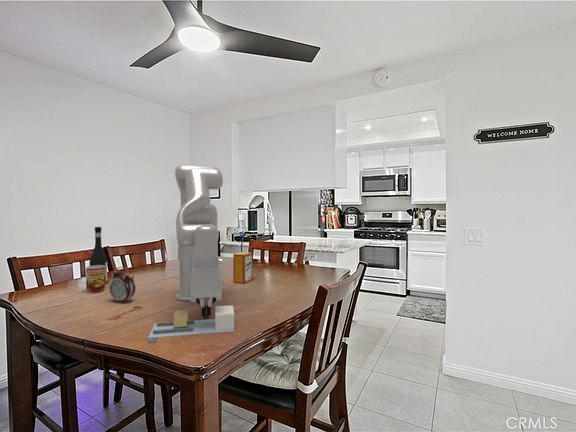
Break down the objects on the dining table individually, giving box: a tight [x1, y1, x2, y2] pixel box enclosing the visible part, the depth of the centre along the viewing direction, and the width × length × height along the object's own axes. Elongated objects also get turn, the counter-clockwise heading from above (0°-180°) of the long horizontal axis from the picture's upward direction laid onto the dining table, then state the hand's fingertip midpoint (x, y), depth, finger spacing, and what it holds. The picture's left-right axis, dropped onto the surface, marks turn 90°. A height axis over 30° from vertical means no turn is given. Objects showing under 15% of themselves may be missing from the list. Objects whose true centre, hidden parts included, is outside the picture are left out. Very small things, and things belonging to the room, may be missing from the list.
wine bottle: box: [89, 226, 108, 284], centre depth 166 cm, size 8×8×30 cm
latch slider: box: [173, 309, 189, 329], centre depth 104 cm, size 5×4×5 cm
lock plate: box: [147, 318, 235, 344], centre depth 105 cm, size 12×26×2 cm, turn 103°
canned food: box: [85, 265, 106, 295], centre depth 152 cm, size 8×8×12 cm
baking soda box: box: [232, 251, 254, 285], centre depth 174 cm, size 10×6×16 cm
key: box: [107, 306, 143, 321], centre depth 121 cm, size 6×1×15 cm
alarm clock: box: [108, 266, 136, 304], centre depth 136 cm, size 11×5×15 cm, turn 70°
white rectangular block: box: [214, 305, 235, 330], centre depth 107 cm, size 9×6×5 cm, turn 13°
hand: (206, 317), depth 105 cm, fingers closed
